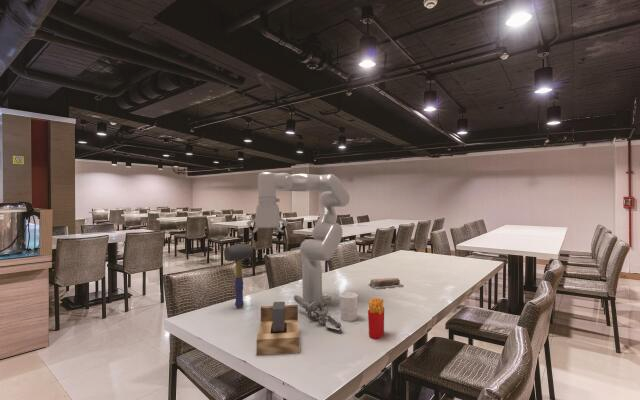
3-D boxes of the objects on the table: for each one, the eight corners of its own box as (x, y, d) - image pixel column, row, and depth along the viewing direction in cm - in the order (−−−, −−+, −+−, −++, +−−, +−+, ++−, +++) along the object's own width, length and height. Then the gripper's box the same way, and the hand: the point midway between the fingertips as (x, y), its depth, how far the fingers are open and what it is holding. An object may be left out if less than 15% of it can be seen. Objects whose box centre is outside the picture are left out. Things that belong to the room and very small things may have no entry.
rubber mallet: (230, 312, 143) (230, 246, 143) (223, 308, 148) (222, 245, 149) (254, 306, 151) (254, 244, 151) (247, 302, 157) (246, 242, 157)
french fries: (376, 340, 112) (376, 304, 112) (365, 338, 114) (365, 302, 114) (387, 332, 119) (386, 297, 119) (376, 329, 122) (376, 295, 122)
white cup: (346, 323, 128) (345, 298, 129) (336, 317, 135) (335, 293, 136) (361, 319, 132) (361, 295, 132) (351, 314, 139) (351, 291, 139)
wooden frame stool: (298, 330, 122) (297, 304, 122) (299, 352, 104) (299, 322, 104) (261, 332, 120) (261, 306, 120) (256, 355, 102) (256, 324, 102)
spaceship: (303, 290, 150) (290, 286, 145) (351, 319, 121) (336, 316, 117) (297, 306, 148) (283, 303, 144) (344, 339, 120) (329, 337, 116)
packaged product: (375, 282, 177) (368, 278, 187) (375, 290, 177) (368, 286, 187) (403, 279, 182) (395, 275, 192) (404, 287, 182) (395, 283, 192)
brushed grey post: (285, 336, 116) (284, 301, 116) (284, 346, 108) (284, 308, 108) (274, 337, 116) (273, 302, 116) (272, 347, 108) (272, 309, 108)
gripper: (287, 201, 139) (288, 240, 138) (247, 201, 137) (248, 241, 137) (287, 201, 131) (288, 242, 131) (245, 201, 129) (246, 243, 129)
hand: (267, 241), depth 134 cm, fingers open, 9 cm apart
